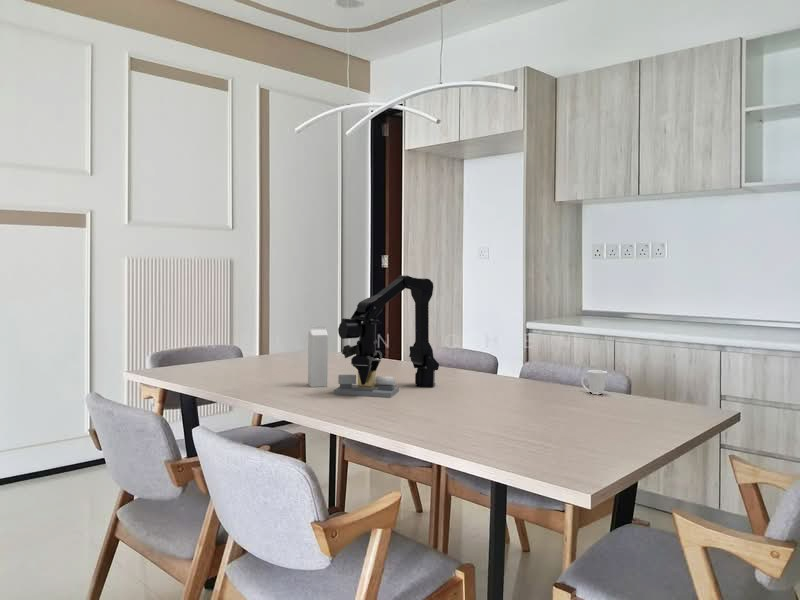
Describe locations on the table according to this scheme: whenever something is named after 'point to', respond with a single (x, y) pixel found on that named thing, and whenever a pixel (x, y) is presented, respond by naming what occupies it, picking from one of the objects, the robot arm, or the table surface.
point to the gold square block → (369, 380)
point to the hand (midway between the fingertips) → (366, 382)
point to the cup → (595, 380)
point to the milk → (317, 356)
